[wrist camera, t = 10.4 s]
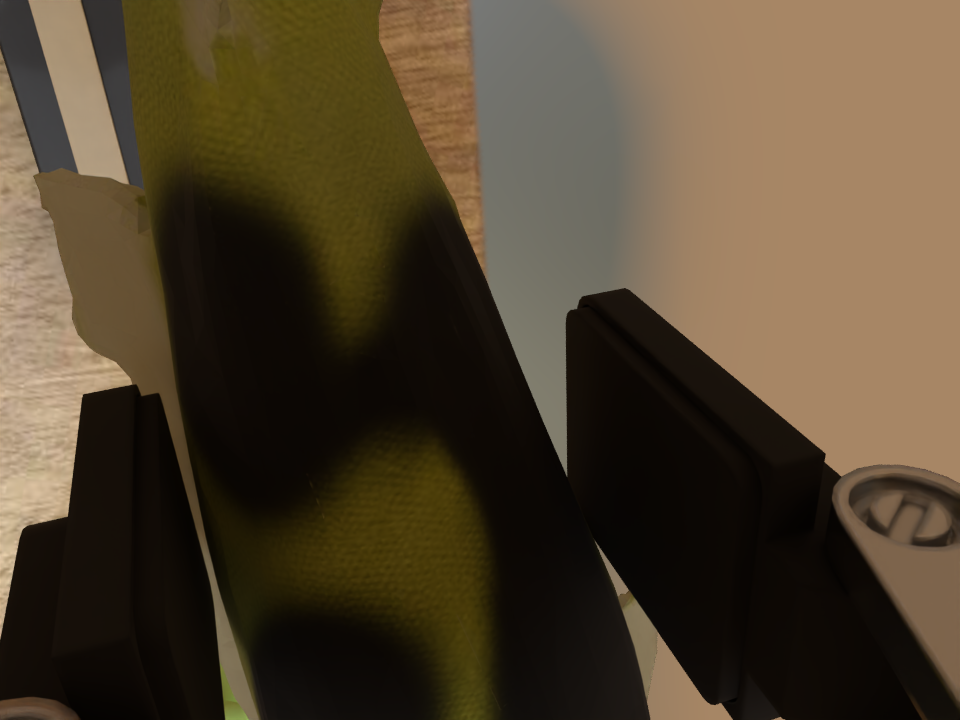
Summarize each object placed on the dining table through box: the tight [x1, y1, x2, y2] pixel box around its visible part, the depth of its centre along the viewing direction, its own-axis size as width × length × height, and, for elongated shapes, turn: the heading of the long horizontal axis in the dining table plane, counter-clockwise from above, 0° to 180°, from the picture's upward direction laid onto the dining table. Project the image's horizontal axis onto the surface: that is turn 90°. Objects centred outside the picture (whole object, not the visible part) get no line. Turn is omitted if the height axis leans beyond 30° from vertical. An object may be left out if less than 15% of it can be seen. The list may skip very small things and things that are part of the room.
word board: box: [0, 0, 144, 190], centre depth 24 cm, size 14×8×1 cm, turn 4°
